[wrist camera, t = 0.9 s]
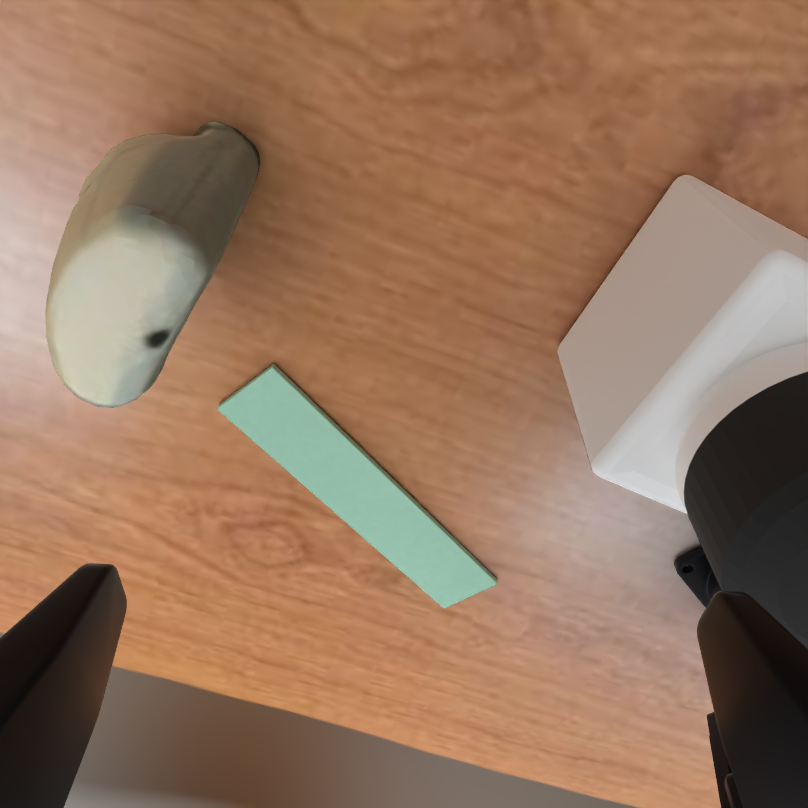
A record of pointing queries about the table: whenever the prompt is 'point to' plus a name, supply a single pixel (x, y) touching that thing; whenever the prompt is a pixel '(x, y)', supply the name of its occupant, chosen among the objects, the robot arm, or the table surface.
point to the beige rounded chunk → (142, 256)
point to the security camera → (707, 386)
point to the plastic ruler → (354, 486)
